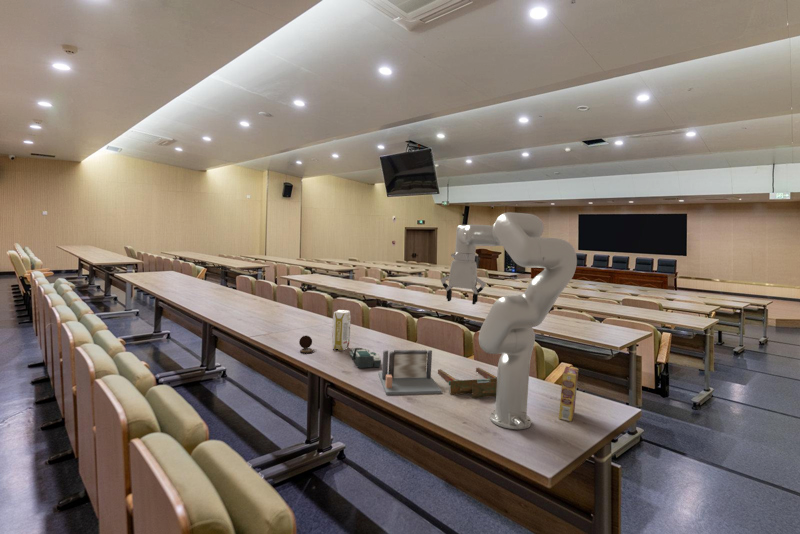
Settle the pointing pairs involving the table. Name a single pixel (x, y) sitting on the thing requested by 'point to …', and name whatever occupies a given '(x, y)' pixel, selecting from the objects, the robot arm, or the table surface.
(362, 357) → the communication device
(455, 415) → the table surface
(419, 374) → the gate
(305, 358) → the table surface
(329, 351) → the table surface
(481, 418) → the table surface
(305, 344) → the compass
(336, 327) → the juice carton
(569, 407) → the candy box
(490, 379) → the miniature gate
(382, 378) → the gray panel stand
